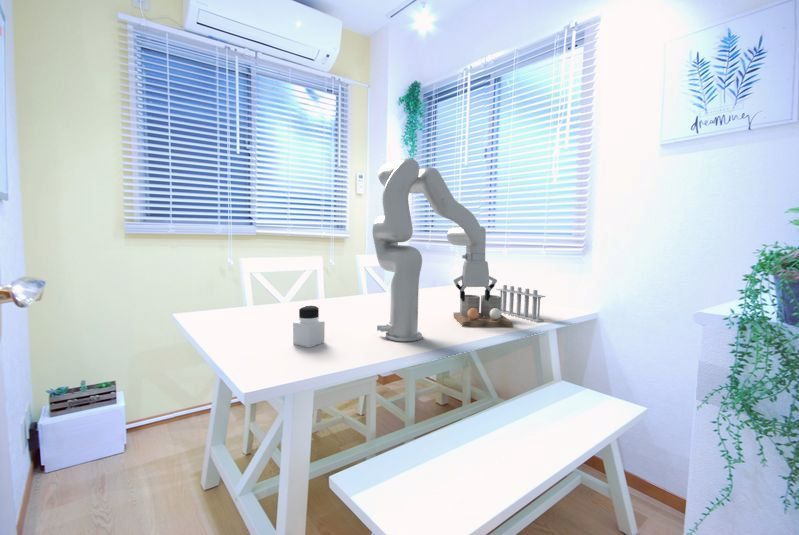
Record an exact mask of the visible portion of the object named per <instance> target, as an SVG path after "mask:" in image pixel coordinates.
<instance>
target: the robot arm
mask: <svg viewBox="0 0 799 535" xmlns="http://www.w3.org/2000/svg"><path fill="white" fill-rule="evenodd" d="M377 176H378V181H379V182H380V184H381V185H382V186H383V187H384V189H383V192H382V207H383V209H382V210H383V215H379V216H378V217H377V218H375V220H374V222H373V225H372V240H373V244H374V249H375V252H376V257H377V258H376V259H377V261H378V264H379V266H380V267H381V269H383V270H384V271H387V272H392V273H394V274H393V277H392V279H391V284H390V317H389V318H390V320H389V322H388V324H387V323H386V325H383V324H377V325H376V331H377V332H378V331H379V332H381V333H383V332H385V338H387V339H388V340H391V341H395V342H414V341H415V342H416V341H418V340H421V339H422V338H423V334H422V332H420V331H419V330H418V328H419V327H418V323H419V321H418V320H419V319H418V318H419V291H420V290H419V286H420V285H419V284H420V276H421V275H420V274H421V270H422V265H423V256H422V253H421V252H420V251H419V250H418V248H416V247H414V246H412V245H403V244H402V245H401V244H399V243H405V242H408V241H409V240H410V239H411V238H412V236H413V233H414V229H413V223H412V217H411V210H410V204H409V194H421V193H423V196H424V197H425V199H426V200H427V202H428V204H429V205H430V207H431V208H432V210H433V212H434V213H435V214H436V215H439V216H440V217H442V218H444V219H447V220H450V221H452V222H453V223H455V224H456V226H452V227H451V228H450V229H448V231H447V232H446V233H447V234H446V238H447V239H446V240H447V241H448V243H449V244H452V245H454V246H461V247H463V246H464V247H465V254H463V255H462V256H461V257H462V259H464V261H463V267H462V273H461V274H462V275H460V276H458V277H456V278H454V279H453V283H454V285H455V287H456V289H458V290H459V298H460V299H461V300H462V301H465V295H466V292H465V289H466V288H481V287H482V288H485V290H484V295H485V300H486V301H489V298H490V295H491V291H492V290H493V289H494V287H495V286H496V283H497V282H498V280H497V279H496V278H495V277H493V276H491V275H490V271H489V262H488V261H486V243H487V242H486V237H487V236H486V234H487V233H486V232H487V231H486V228H485V227H484V226H481V225H480V223H479V221H478V220H477V218H476V216H475V215H474V213H473V212H472V211H470V210H469V209H468V208H466V206H464V205H462V204H461V203H460V202H458V201H457V200H455V198H454V196H453V194H452V193H451V190H450V188H448V186H447V184H446V182H445V180H444V178H443V177H442V174H441V173H440V171H439V170H438V169H437V168H435V167H432V166H430V167H429V166H428V167H422V168H421V167H420V164H419V163H418V161H417V160H416V159H414V158H403V159H402V158H401V159H397V160H395V161H391V162H387V163H385V164H383V165H382V166H381V167H380V169H379V171H378V174H377ZM490 281H491V283H490ZM459 282H461V285H460V283H459Z"/></svg>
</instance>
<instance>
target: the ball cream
mask: <svg viewBox="0 0 799 535" xmlns="http://www.w3.org/2000/svg"><path fill="white" fill-rule="evenodd" d="M501 315H502V313H501V311H500V310H499V309H497V308H494V309H492V310H491V311H490V317H491V318H492V319H499V318H500V317H501Z"/></svg>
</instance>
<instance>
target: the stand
mask: <svg viewBox="0 0 799 535" xmlns="http://www.w3.org/2000/svg"><path fill="white" fill-rule="evenodd" d="M459 301H460V303H459V305H460V306H459V311H458V312H453V314H452V315H453V316H454V317H453V318H454V319H455V320H456V322H457V323H458V322H459V323H460V324H461V325H462V326H469V327H468V328H513V325H514V322H513V321H512V320H511V319H509V318H507V317H506V316H504V314H501V317H500V318H499V319H492V318H491V317H490V311H491V310H492V309H494V308H497V309H499V310H500V306H501V297H500V295H496V294H490V298H489V301H486V300H485V294H484V295H483V294H482V295H480V296H479V295H476V294H465V301H462V300H461V299H460V300H459ZM471 308H475V309H477V310H478V312H479V316H478V318H476V319H470V318H469V317H468V314H467V313H468V310H469V309H471ZM459 323H458V324H459ZM460 324H459V325H460ZM461 325H460V326H461ZM462 326H461V327H462Z"/></svg>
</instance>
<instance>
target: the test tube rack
mask: <svg viewBox="0 0 799 535" xmlns="http://www.w3.org/2000/svg"><path fill="white" fill-rule="evenodd" d="M522 289H523V288H522V287H520V286H519V287H517V290H515V286H514V285H510V286H509V289H508V285H507V284H503V285H502V288H496V289H495V290H497V291H499V292H500V293H499V294H500V295H499V296H500V297H501V306H500V311H501V314H502V313H504V314H503V315H506V314H508V315H507V316H510V315H511V316H510V317H514V316H515V318H517V317H518V319H521V318H522V319H521V320H525V319H526V320H525V321H529V320H530V322H533V321H534V322H533V323H537V322H538V323H544V322H545V319H542V318H540V313H541V312H540V311H541V310H540V309H541V298H546V295H543V294H542V295H541V294H538V290H537V289H533V290H532V291H533V292H532V293H530V288H525V290H524V291H522ZM508 293H509V306H508V308H509V309H508V310H507V298H508V297H507V296H508V295H507V294H508ZM515 294H517V295H516V310H515V311H516V312H514V301H515V300H514V299H515V298H514V296H515ZM522 296H524V305H523V306H524V307H523V308H524V309H523V314H521V311H522V308H521V307H522V306H521V305H522ZM530 297H532V306H531V307H532V308H531V309H532V310H531V316H530V315H529V309H530V308H529V307H530V306H529V305H530Z"/></svg>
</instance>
